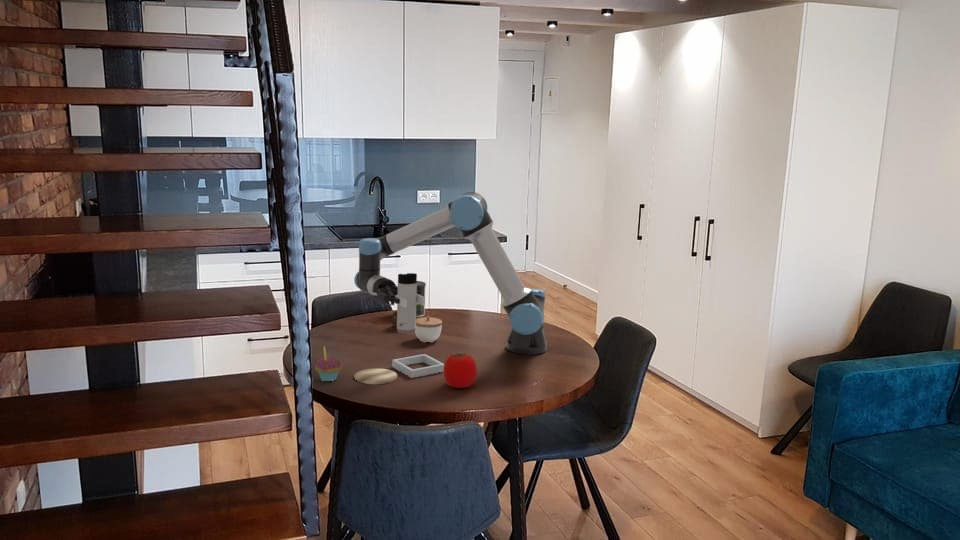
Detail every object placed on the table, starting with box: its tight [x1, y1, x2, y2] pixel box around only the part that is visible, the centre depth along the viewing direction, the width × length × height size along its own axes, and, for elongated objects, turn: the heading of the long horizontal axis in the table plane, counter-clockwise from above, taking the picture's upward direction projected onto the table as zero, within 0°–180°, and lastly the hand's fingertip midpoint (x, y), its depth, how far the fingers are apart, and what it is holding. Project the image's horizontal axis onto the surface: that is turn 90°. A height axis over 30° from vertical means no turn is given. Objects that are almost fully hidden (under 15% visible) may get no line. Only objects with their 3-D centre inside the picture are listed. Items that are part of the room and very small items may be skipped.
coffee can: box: [416, 280, 427, 318], centre depth 319 cm, size 10×10×14 cm
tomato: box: [443, 352, 478, 389], centre depth 235 cm, size 10×11×11 cm
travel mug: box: [396, 272, 418, 334], centre depth 244 cm, size 6×7×20 cm
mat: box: [353, 367, 398, 385], centre depth 242 cm, size 14×14×1 cm
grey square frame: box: [391, 353, 445, 379], centre depth 250 cm, size 13×13×2 cm
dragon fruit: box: [390, 311, 397, 326], centre depth 299 cm, size 8×8×12 cm
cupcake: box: [314, 344, 343, 382], centre depth 237 cm, size 9×8×12 cm
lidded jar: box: [414, 315, 443, 343], centre depth 283 cm, size 11×11×9 cm
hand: (414, 302), depth 240 cm, fingers closed on travel mug, 6 cm apart
